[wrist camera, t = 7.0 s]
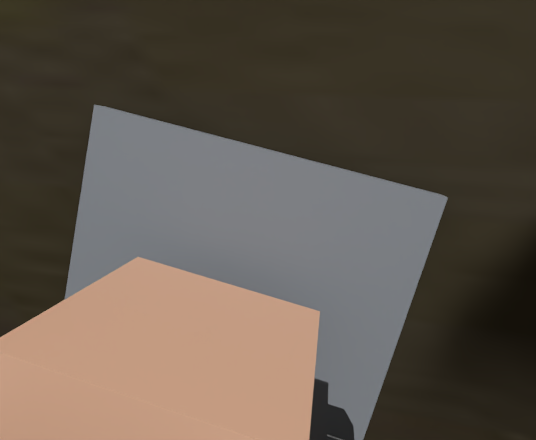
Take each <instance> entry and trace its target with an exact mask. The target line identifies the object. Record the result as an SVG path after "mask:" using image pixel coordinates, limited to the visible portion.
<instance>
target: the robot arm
mask: <svg viewBox="0 0 536 440" xmlns="http://www.w3.org/2000/svg"><path fill="white" fill-rule="evenodd" d="M309 440H354V427H353V424H352V422H351V420H350V419H349V417H348V415H347V413H346V411H345V410H344V409H342V408H339V407H336V406H333V405H330V404H328V382H326V381H322V380H319V379H316V378H314V389H313V401H312V413H311V425H310V436H309Z"/></svg>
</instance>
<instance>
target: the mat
mask: <svg viewBox="0 0 536 440" xmlns="http://www.w3.org/2000/svg"><path fill="white" fill-rule="evenodd" d="M447 198H448V197H446V196H443V195H441V194H437V193H433V192H429V191H426V190H422V189H418V188H414V187H410V186H407V185H403V184H399V183H395V182H391V181H387V180H384V179H380V178H376V177H372V176H368V175H365V174H361V173H357V172H353V171H349V170H345V169H342V168H338V167H334V166H330V165H326V164H323V163H319V162H315V161H311V160H307V159H303V158H300V157H296V156H292V155H288V154H284V153H281V152H277V151H273V150H269V149H265V148H261V147H258V146H254V145H250V144H246V143H242V142H239V141H235V140H231V139H227V138H223V137H219V136H216V135H212V134H208V133H204V132H200V131H197V130H193V129H189V128H185V127H181V126H177V125H174V124H170V123H166V122H162V121H158V120H155V119H151V118H147V117H143V116H139V115H135V114H132V113H128V112H124V111H120V110H116V109H113V108H109V107H104V106H98V105H94V109H93V116H92V123H91V129H90V136H89V142H88V149H87V156H86V162H85V169H84V175H83V182H82V189H81V195H80V202H79V208H78V215H77V222H76V228H75V235H74V241H73V248H72V255H71V261H70V268H69V274H68V281H67V288H66V294H65V299H67V298H68V297H70V296H72V295H74V294H75V293H77V292H79V291H80V290H82V289H84V288H86V287H87V286H89V285H91V284H92V283H94V282H96V281H97V280H99V279H101V278H103V277H104V276H106V275H108V274H109V273H111V272H113V271H115V270H116V269H118V268H120V267H121V266H123V265H125V264H126V263H128V262H130V261H132V260H133V259H135V258H137V257H141V258H144V259H147V260H151V261H154V262H157V263H161V264H164V265H167V266H171V267H174V268H177V269H181V270H184V271H187V272H191V273H194V274H197V275H201V276H204V277H207V278H211V279H214V280H217V281H221V282H224V283H227V284H231V285H234V286H237V287H241V288H244V289H247V290H251V291H254V292H257V293H261V294H264V295H267V296H271V297H274V298H277V299H281V300H284V301H287V302H290V303H294V304H297V305H300V306H304V307H307V308H310V309H314V310H317V311H320V317H319V329H318V341H317V353H316V365H315V377H314V378H316V379H319V380H322V381H326V382H328V404H330V405H333V406H336V407H339V408H342V409H344V410H345V411H346V413H347V415H348V417H349V419H350V420H351V422H352V424H353V427H354V440H363V438H364V436H365V433H366V430H367V427H368V424H369V421H370V418H371V416H372V413H373V410H374V407H375V404H376V401H377V398H378V396H379V393H380V390H381V387H382V384H383V381H384V378H385V376H386V373H387V370H388V367H389V364H390V361H391V358H392V356H393V353H394V350H395V347H396V344H397V341H398V338H399V336H400V333H401V330H402V327H403V324H404V321H405V318H406V316H407V313H408V310H409V307H410V304H411V301H412V298H413V296H414V293H415V290H416V287H417V284H418V281H419V278H420V276H421V273H422V270H423V267H424V264H425V261H426V258H427V256H428V253H429V250H430V247H431V244H432V241H433V238H434V236H435V233H436V230H437V227H438V224H439V221H440V218H441V216H442V213H443V210H444V207H445V204H446V201H447Z"/></svg>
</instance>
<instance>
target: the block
mask: <svg viewBox="0 0 536 440" xmlns="http://www.w3.org/2000/svg"><path fill="white" fill-rule="evenodd" d="M319 317H320V311H317V310H314V309H310V308H307V307H304V306H300V305H297V304H294V303H290V302H287V301H284V300H281V299H277V298H274V297H271V296H267V295H264V294H261V293H257V292H254V291H251V290H247V289H244V288H241V287H237V286H234V285H231V284H227V283H224V282H221V281H217V280H214V279H211V278H207V277H204V276H201V275H197V274H194V273H191V272H187V271H184V270H181V269H177V268H174V267H171V266H167V265H164V264H161V263H157V262H154V261H151V260H147V259H144V258H141V257H137V258H135V259H133V260H132V261H130V262H128V263H126V264H125V265H123V266H121V267H120V268H118V269H116V270H115V271H113V272H111V273H109V274H108V275H106V276H104V277H103V278H101V279H99V280H97V281H96V282H94V283H92V284H91V285H89V286H87V287H86V288H84V289H82V290H80V291H79V292H77V293H75V294H74V295H72V296H70V297H68V298H67V299H65V300H63V301H62V302H60V303H58V304H57V305H55V306H53V307H51V308H50V309H48V310H46V311H45V312H43V313H41V314H40V315H38V316H36V317H34V318H33V319H31V320H29V321H28V322H26V323H24V324H22V325H21V326H19V327H17V328H16V329H14V330H12V331H11V332H9V333H7V334H5V335H4V336H2V337H0V440H309V436H310V425H311V413H312V401H313V389H314V377H315V365H316V353H317V341H318V329H319Z"/></svg>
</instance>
